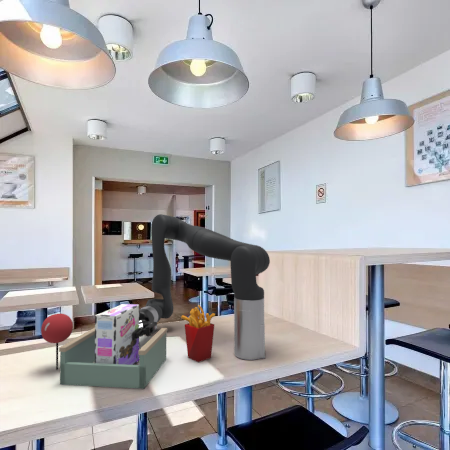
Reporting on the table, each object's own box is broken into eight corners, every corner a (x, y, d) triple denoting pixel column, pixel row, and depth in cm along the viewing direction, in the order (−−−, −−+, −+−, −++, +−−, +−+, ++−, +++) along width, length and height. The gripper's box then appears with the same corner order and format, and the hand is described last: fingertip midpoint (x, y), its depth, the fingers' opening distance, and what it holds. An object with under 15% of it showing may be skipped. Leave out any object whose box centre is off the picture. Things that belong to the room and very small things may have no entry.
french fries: (215, 357, 93) (215, 307, 94) (193, 365, 88) (193, 311, 88) (196, 350, 100) (196, 302, 100) (175, 357, 94) (175, 306, 94)
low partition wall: (167, 358, 93) (167, 328, 93) (144, 389, 74) (144, 350, 75) (97, 355, 95) (97, 325, 95) (58, 384, 77) (59, 347, 77)
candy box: (114, 382, 78) (115, 315, 78) (93, 380, 79) (93, 314, 80) (140, 360, 91) (140, 303, 92) (121, 359, 93) (121, 303, 93)
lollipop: (42, 366, 88) (43, 312, 88) (72, 361, 91) (73, 309, 91) (38, 377, 81) (39, 318, 81) (71, 372, 84) (72, 315, 84)
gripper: (123, 308, 105) (97, 321, 88) (165, 308, 103) (147, 323, 86) (122, 330, 104) (97, 349, 88) (164, 332, 103) (146, 350, 86)
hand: (122, 336), depth 87 cm, fingers closed on candy box, 6 cm apart
